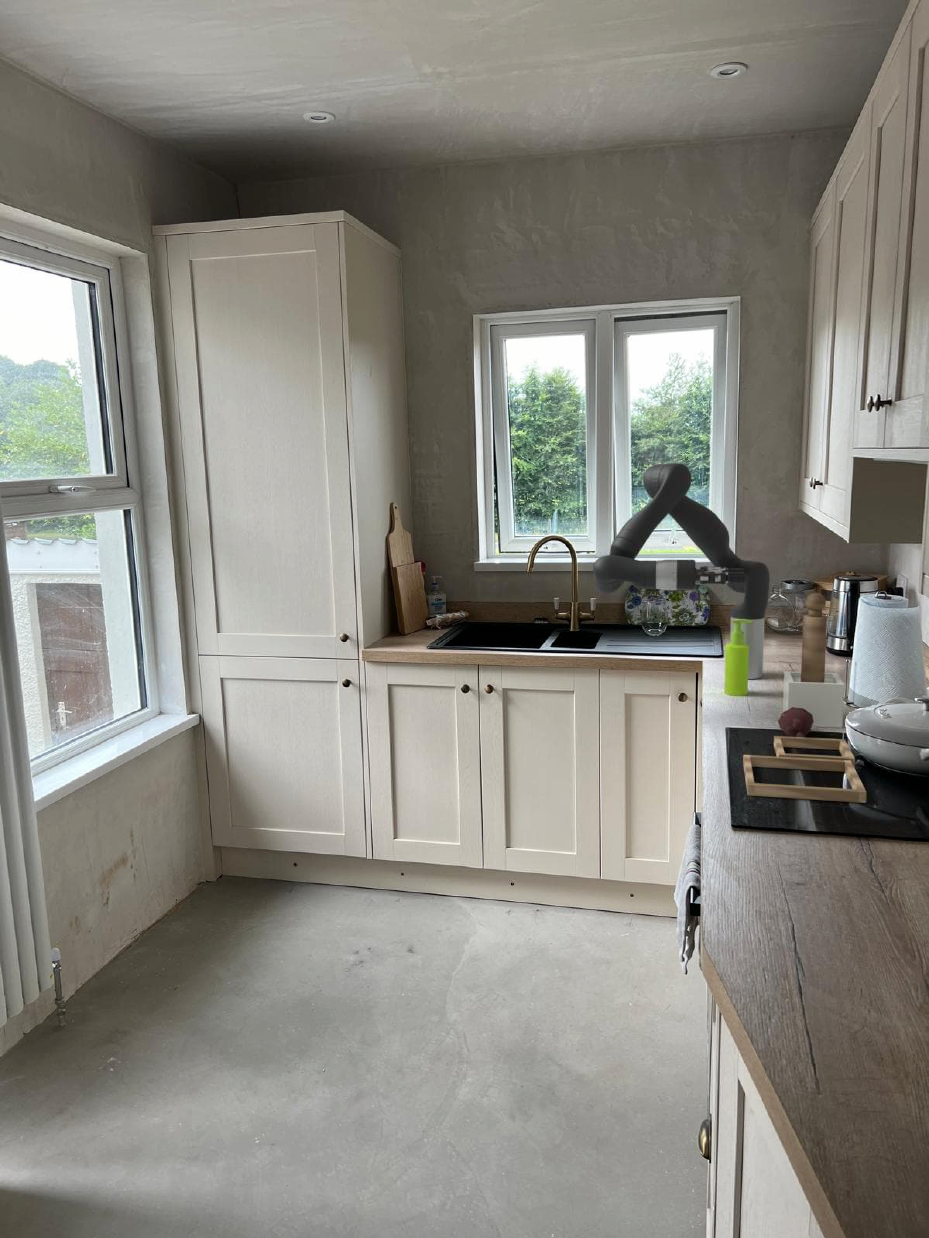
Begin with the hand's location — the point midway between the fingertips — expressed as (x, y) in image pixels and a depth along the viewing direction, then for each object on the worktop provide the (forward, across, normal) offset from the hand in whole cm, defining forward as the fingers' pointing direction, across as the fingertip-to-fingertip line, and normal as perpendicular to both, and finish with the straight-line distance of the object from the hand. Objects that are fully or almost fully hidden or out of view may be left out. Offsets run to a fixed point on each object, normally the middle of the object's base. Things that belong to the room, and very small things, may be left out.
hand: (744, 575), depth 220 cm
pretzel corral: (+9, -50, +34) cm, 61 cm away
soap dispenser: (0, +19, +34) cm, 39 cm away
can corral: (+13, -33, +34) cm, 49 cm away
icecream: (+11, -19, +34) cm, 41 cm away
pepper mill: (+16, -4, +25) cm, 30 cm away
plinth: (+16, -4, +34) cm, 38 cm away
